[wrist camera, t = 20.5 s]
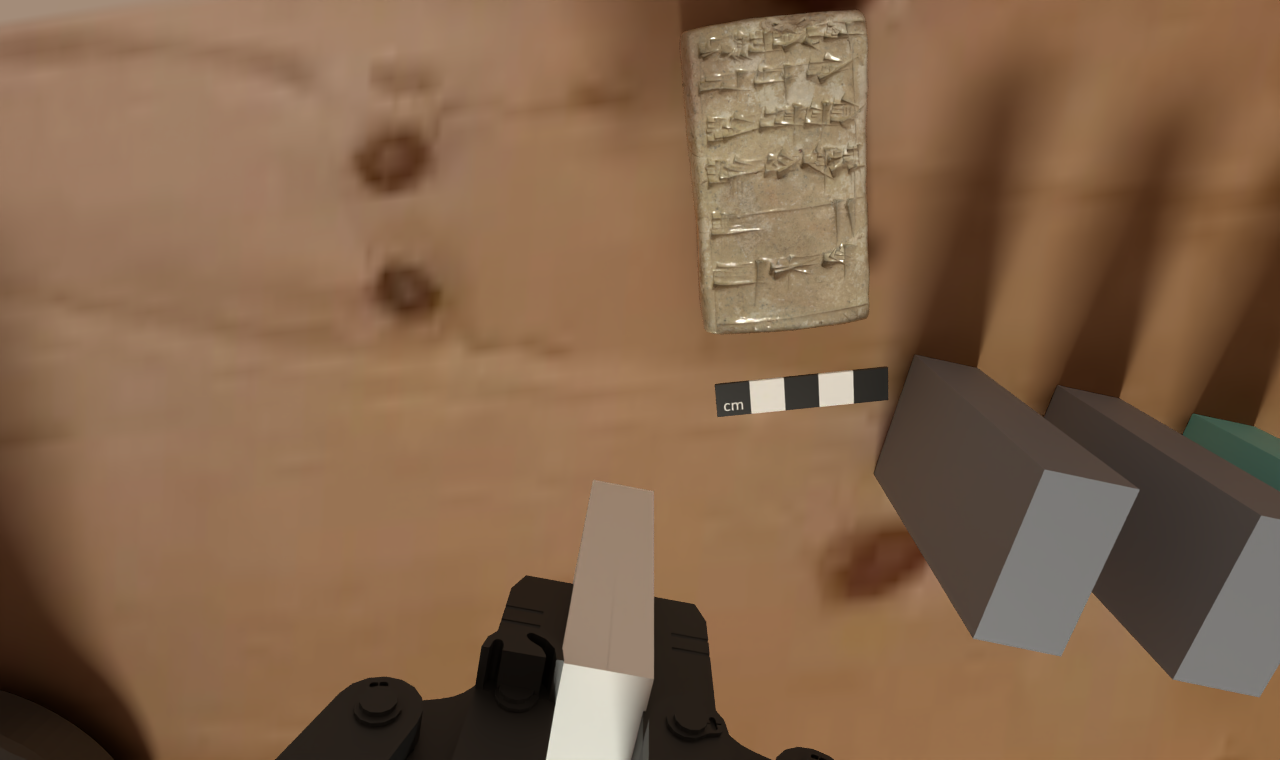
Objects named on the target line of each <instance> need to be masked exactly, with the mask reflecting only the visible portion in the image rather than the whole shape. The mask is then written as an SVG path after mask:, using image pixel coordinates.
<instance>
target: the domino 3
mask: <svg viewBox="0 0 1280 760" xmlns="http://www.w3.org/2000/svg"><path fill="white" fill-rule="evenodd" d="M1183 436H1185V437H1187V438H1188V439H1190V440H1192V441H1194V442H1195V443H1197V444H1199V445H1200V446H1202V447H1204V448H1206V449H1207V450H1209V451H1211V452H1212V453H1214V454H1216V455H1218V456H1219V457H1221V458H1223V459H1225V460H1226V461H1228V462H1230V463H1231V464H1233V465H1235V466H1237V467H1238V468H1240V469H1242V470H1243V471H1245V472H1247V473H1249V474H1250V475H1252V476H1254V477H1256V478H1257V479H1259V480H1261V481H1262V482H1264V483H1266V484H1268V485H1269V486H1271V487H1273V488H1274V489H1276V490H1278V491H1280V439H1279V438H1276V437H1274V436H1272V435H1270V434H1268V433H1266V432H1264V431H1262V430H1260V429H1258V428H1256V427H1254V426H1250V425H1245V424H1240V423H1236V422H1231V421H1226V420H1221V419H1217V418H1212V417H1207V416H1203V415H1198V414H1192V416H1191V418H1190V420H1189V422H1188V424H1187V426H1186V429H1185V431H1184V433H1183Z"/></svg>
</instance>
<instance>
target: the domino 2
mask: <svg viewBox="0 0 1280 760" xmlns="http://www.w3.org/2000/svg"><path fill="white" fill-rule="evenodd" d="M1044 418H1045V419H1046V420H1048V421H1049V422H1050V423H1052V424H1053V425H1054V426H1056V427H1057V428H1058V429H1060V430H1061V431H1062V432H1064V433H1065V434H1066V435H1068V436H1069V437H1070V438H1072V439H1073V440H1074V441H1076V442H1077V443H1078V444H1080V445H1081V446H1082V447H1084V448H1085V449H1086V450H1088V451H1089V452H1090V453H1092V454H1093V455H1094V456H1096V457H1097V458H1098V459H1100V460H1101V461H1102V462H1104V463H1105V464H1106V465H1108V466H1109V467H1110V468H1112V469H1113V470H1114V471H1116V472H1117V473H1119V474H1120V475H1121V476H1123V477H1124V478H1125V479H1127V480H1128V481H1129V482H1131V483H1132V484H1133V485H1135V486H1136V487H1137V488H1139V489H1140V490H1139V493H1138V495H1137V497H1136V499H1135V501H1134V503H1133V505H1132V507H1131V509H1130V512H1129V514H1128V516H1127V518H1126V520H1125V522H1124V524H1123V526H1122V529H1121V531H1120V533H1119V535H1118V537H1117V539H1116V541H1115V543H1114V545H1113V548H1112V550H1111V552H1110V554H1109V556H1108V558H1107V560H1106V562H1105V564H1104V567H1103V569H1102V571H1101V573H1100V575H1099V577H1098V579H1097V581H1096V584H1095V586H1094V588H1093V590H1092V593H1093V594H1094V595H1095V596H1096V597H1097V598H1098V599H1099V600H1100V601H1101V602H1102V603H1103V605H1104V606H1105V607H1106V608H1107V609H1108V610H1109V611H1110V612H1111V613H1112V614H1113V615H1114V616H1115V618H1116V619H1117V620H1118V621H1119V622H1120V623H1121V624H1122V625H1123V626H1124V627H1125V628H1126V629H1127V631H1128V632H1129V633H1130V634H1131V635H1132V636H1133V637H1134V638H1135V639H1136V640H1137V641H1138V642H1139V643H1140V645H1141V646H1142V647H1143V648H1144V649H1145V650H1146V651H1147V652H1148V653H1149V654H1150V655H1151V656H1152V658H1153V659H1154V660H1155V661H1156V662H1157V663H1158V664H1159V665H1160V666H1161V667H1162V668H1163V669H1164V670H1165V672H1166V673H1167V674H1168V675H1169V676H1170V677H1171V678H1172V679H1173V680H1178V681H1183V682H1187V683H1192V684H1197V685H1202V686H1207V687H1212V688H1217V689H1221V690H1226V691H1231V692H1236V693H1241V694H1246V695H1251V696H1256V697H1260V696H1261V694H1262V692H1263V691H1264V689H1265V687H1266V685H1267V684H1268V682H1269V680H1270V679H1271V677H1272V675H1273V674H1274V672H1275V670H1276V669H1277V667H1278V665H1279V663H1280V491H1278V490H1276V489H1274V488H1273V487H1271V486H1269V485H1268V484H1266V483H1264V482H1262V481H1261V480H1259V479H1257V478H1256V477H1254V476H1252V475H1250V474H1249V473H1247V472H1245V471H1243V470H1242V469H1240V468H1238V467H1237V466H1235V465H1233V464H1231V463H1230V462H1228V461H1226V460H1225V459H1223V458H1221V457H1219V456H1218V455H1216V454H1214V453H1212V452H1211V451H1209V450H1207V449H1206V448H1204V447H1202V446H1200V445H1199V444H1197V443H1195V442H1194V441H1192V440H1190V439H1188V438H1187V437H1185V436H1183V435H1181V434H1180V433H1178V432H1176V431H1175V430H1173V429H1171V428H1169V427H1168V426H1166V425H1164V424H1163V423H1161V422H1159V421H1157V420H1156V419H1154V418H1152V417H1151V416H1149V415H1147V414H1145V413H1144V412H1142V411H1140V410H1138V409H1137V408H1135V407H1133V406H1132V405H1130V404H1128V403H1126V402H1125V401H1123V400H1121V399H1120V398H1115V397H1111V396H1106V395H1101V394H1097V393H1092V392H1087V391H1083V390H1078V389H1073V388H1069V387H1064V386H1059V385H1057V387H1056V390H1055V392H1054V395H1053V397H1052V399H1051V402H1050V404H1049V407H1048V409H1047V412H1046V414H1045V416H1044Z"/></svg>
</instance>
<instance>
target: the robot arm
mask: <svg viewBox="0 0 1280 760" xmlns="http://www.w3.org/2000/svg"><path fill="white" fill-rule="evenodd" d="M0 760H114V759H113V758H112V757H111V756H110V755H109V754H108V753H107V752H106V751H105V750H104V749H103V748H102V747H101V746H100V745H99V744H98V743H97V742H96V741H94V740H93V739H92V738H91V737H90V736H88V735H87V734H86V733H84V732H83V731H82V730H81V729H79V728H78V727H76V726H75V725H73V724H72V723H70V722H69V721H67V720H66V719H64V718H63V717H61V716H59V715H58V714H56V713H54V712H52V711H50V710H48V709H46V708H45V707H43V706H40V705H38V704H36V703H34V702H32V701H30V700H27V699H25V698H22V697H20V696H17V695H14V694H11V693H8V692H5V691H2V690H0ZM275 760H771V759H769V758H766V757H764V756H762V755H760V754H757V753H755V752H753V751H751V750H749V749H748V748H746V747H744V746H742V745H741V744H739V743H738V742H737V741H736V740H734V739H733V738H732V737H731V736H730V735H729V734H728V730H727V727H726V724H725V722H724V720H723V718H722V717H721V716H720V715H719V714H718V713H717V711H716V709H715V699H714V690H713V681H712V672H711V663H710V657H709V644H708V635H707V626H706V621H705V619H704V618H703V616H702V615H701V613H700V612H699V610H698V609H697V607H696V606H695V604H690V603H685V602H679V601H674V600H668V599H663V598H657V597H654V491H650V490H645V489H639V488H634V487H629V486H623V485H618V484H613V483H608V482H602V481H597V480H593V483H592V488H591V493H590V498H589V503H588V508H587V513H586V519H585V524H584V529H583V534H582V539H581V544H580V549H579V554H578V559H577V564H576V569H575V574H574V580H573V584H571V583H565V582H560V581H554V580H549V579H543V578H538V577H532V576H527V575H526V576H525V577H524V578H523V579H521V580H520V581H519V582H518V583H517V584H516V585H515V586H513V587H512V588H511V591H510V595H509V598H508V601H507V604H506V608H505V610H504V613H503V616H502V620H501V623H500V626H499V629H498V631H497V632H495V633H493V634H492V635H490V636H488V638H487V639H486V641H485V642H484V643H483V645H482V647H481V653H480V660H479V666H478V672H477V679H476V685H475V686H474V687H472V688H471V689H469V690H467V691H466V692H464V693H462V694H459V695H456V696H454V697H449V698H443V699H435V700H422V697H421V696H420V694H419V693H418V692H417V690H416V689H415V687H413V686H411V685H410V684H408V683H406V682H405V681H403V680H400V679H395V678H390V677H375V678H367V679H364V680H362V681H359V682H356V683H353V684H351V685H350V686H349V687H347V688H346V689H345V690H343V691H342V692H340V693H339V694H338V695H337V696H336V697H335V698H334V699H333V700H332V702H331V703H330V704H329V705H328V706H327V707H326V708H325V709H324V710H323V711H322V712H321V713H320V714H319V715H318V716H317V717H316V718H315V719H314V720H313V721H312V722H311V723H310V724H309V725H308V726H307V727H306V728H305V729H304V730H303V731H302V733H301V734H300V735H299V736H298V737H297V738H296V739H295V740H294V741H293V742H292V743H291V744H290V745H289V746H288V747H287V748H286V749H285V750H284V751H283V752H282V753H281V754H280V755H279V756H278V757H277V758H276V759H275ZM776 760H834V759H832V758H831V757H830V756H828V755H826V754H823V753H821V752H819V751H816V750H814V749H809V748H802V747H796V748H791V749H786V750H784V751H783V752H782V753H781V754H780V755H779V756H777V758H776Z"/></svg>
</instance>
